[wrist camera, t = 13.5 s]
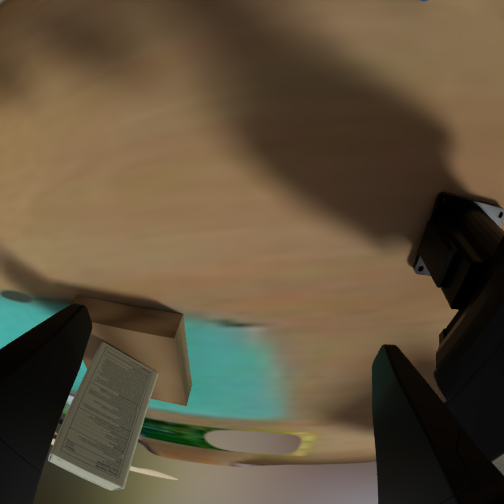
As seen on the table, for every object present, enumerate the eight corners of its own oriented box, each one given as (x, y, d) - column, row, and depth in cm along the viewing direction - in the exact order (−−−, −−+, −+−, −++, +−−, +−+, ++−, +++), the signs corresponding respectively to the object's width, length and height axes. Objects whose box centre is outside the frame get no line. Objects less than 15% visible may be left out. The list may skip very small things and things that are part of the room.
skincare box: (92, 358, 28) (44, 459, 18) (103, 338, 26) (47, 452, 16) (146, 389, 29) (111, 492, 19) (162, 372, 27) (124, 490, 17)
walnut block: (185, 309, 27) (174, 338, 24) (193, 380, 33) (186, 405, 30) (79, 291, 28) (63, 314, 25) (105, 361, 34) (94, 383, 31)
